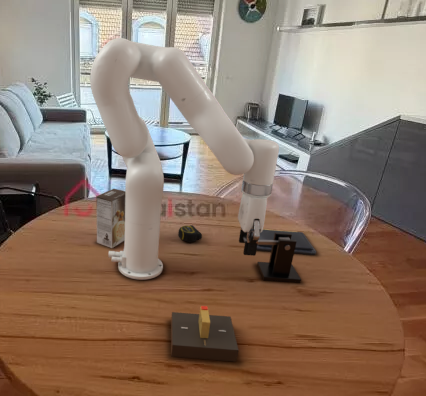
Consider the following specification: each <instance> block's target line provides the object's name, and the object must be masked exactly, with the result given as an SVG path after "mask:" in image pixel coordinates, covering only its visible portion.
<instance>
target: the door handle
mask: <svg viewBox="0 0 426 396" xmlns="http://www.w3.org/2000/svg"><path fill="white" fill-rule="evenodd" d="M279 239H288V240H290V238H289V237H279V238H278V240H258V244H257V245H278V241H279ZM243 240H244V242H245V241H247V235H243Z"/></svg>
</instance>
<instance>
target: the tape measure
mask: <svg viewBox="0 0 426 396" xmlns="http://www.w3.org/2000/svg"><path fill="white" fill-rule="evenodd" d="M177 235H178V238H179V239H180V240H182V241H183V242H186V243H194V242H198V241H201V240H202V238H203V234H202V233H201V232H200V231H199V230H198V229H197V228H196V227H195V226H194V225H182V226H180V227H179V229H178V232H177Z"/></svg>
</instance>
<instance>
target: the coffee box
mask: <svg viewBox="0 0 426 396" xmlns="http://www.w3.org/2000/svg"><path fill="white" fill-rule="evenodd" d="M95 197H96V199H95V200H96V243H97V244H99V245H102V246H105V247H107V248H111V249H114V247H117V246H118V245H120V244H121V243H123V242H125V190H121V189H118V188H112V189H110V190H107V191H105V192H103V193H101V194H98V195H96V196H95Z"/></svg>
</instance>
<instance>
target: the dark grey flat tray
mask: <svg viewBox="0 0 426 396" xmlns="http://www.w3.org/2000/svg"><path fill="white" fill-rule="evenodd" d="M251 230H252V231H253V229H251ZM275 232H279V233H291V234H292V237H291V240H296V247H295V251H294V255H295V254H297V255H306V256H307V255H308V256H316V254H317V251H316V248H314V246H313V245H312V243H311V242H310V241H309V239H308V238H307V236H306V235H305V234H304V232H303V231H293V230H282V229H281V230H280V229H268V228H263V230H262V232H261V233H260V238H259V240H274V234H275ZM252 236H253V233H252ZM271 250H272V245H257V250H256V251H260V252H270V253H271Z"/></svg>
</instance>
